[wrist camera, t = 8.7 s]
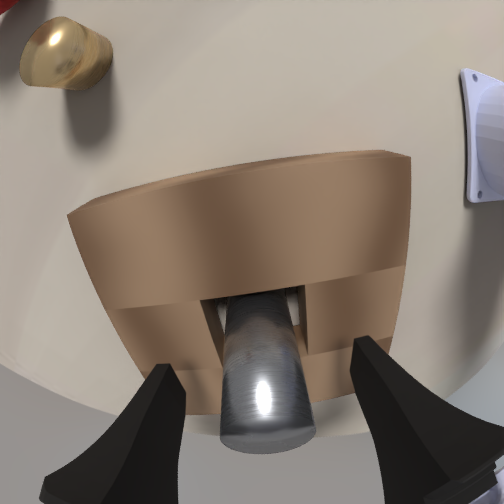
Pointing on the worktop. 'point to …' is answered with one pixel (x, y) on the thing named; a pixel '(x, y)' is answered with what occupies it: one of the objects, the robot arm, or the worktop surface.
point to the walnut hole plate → (253, 261)
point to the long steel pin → (263, 377)
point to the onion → (6, 5)
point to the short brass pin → (65, 56)
